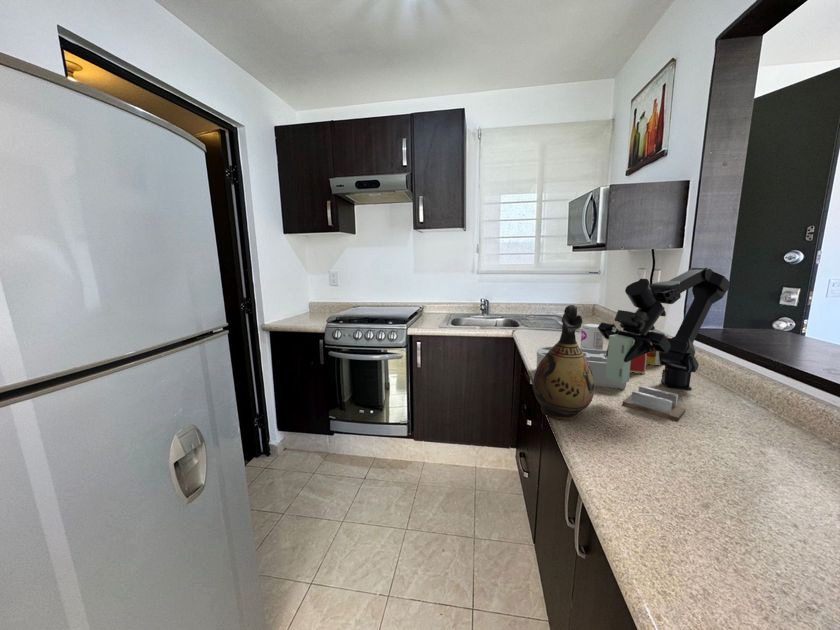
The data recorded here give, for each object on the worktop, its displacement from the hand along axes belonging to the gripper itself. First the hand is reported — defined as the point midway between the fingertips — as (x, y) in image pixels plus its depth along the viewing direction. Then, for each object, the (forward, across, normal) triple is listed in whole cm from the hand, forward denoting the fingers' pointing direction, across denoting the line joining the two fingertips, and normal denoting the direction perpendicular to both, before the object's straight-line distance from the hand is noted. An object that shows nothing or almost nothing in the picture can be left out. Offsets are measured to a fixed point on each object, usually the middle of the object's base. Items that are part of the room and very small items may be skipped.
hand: (615, 358), depth 93 cm
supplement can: (-10, -30, +30) cm, 43 cm away
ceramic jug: (+22, -2, -3) cm, 23 cm away
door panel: (+4, 0, +6) cm, 7 cm away
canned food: (-24, -18, +44) cm, 53 cm away
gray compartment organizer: (+4, -20, +16) cm, 26 cm away
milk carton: (-13, -17, +33) cm, 39 cm away
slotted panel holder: (+4, +7, +15) cm, 17 cm away
